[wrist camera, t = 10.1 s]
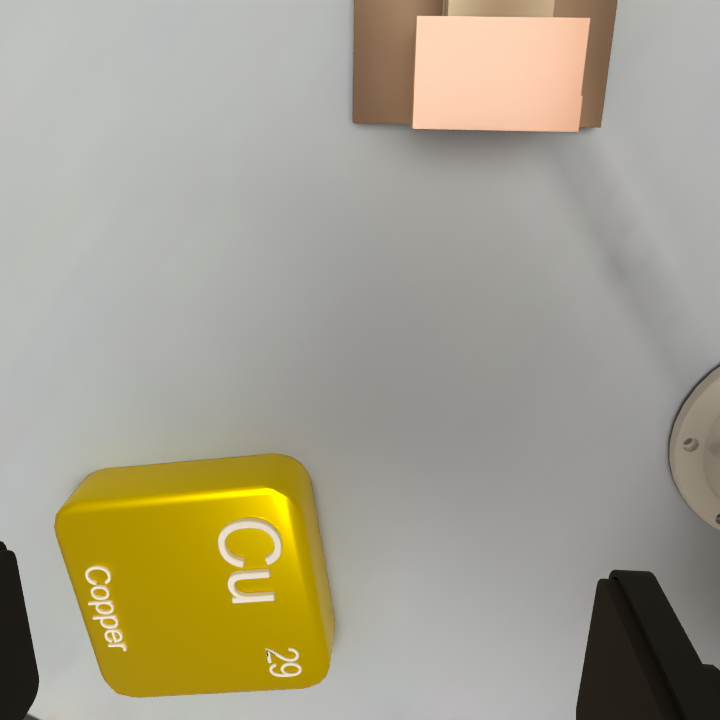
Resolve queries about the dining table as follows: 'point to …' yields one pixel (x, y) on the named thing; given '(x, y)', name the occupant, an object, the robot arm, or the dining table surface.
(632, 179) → the dining table surface
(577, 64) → the terracotta socket
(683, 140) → the dining table surface
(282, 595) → the element tile
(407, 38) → the walnut board
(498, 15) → the tube
